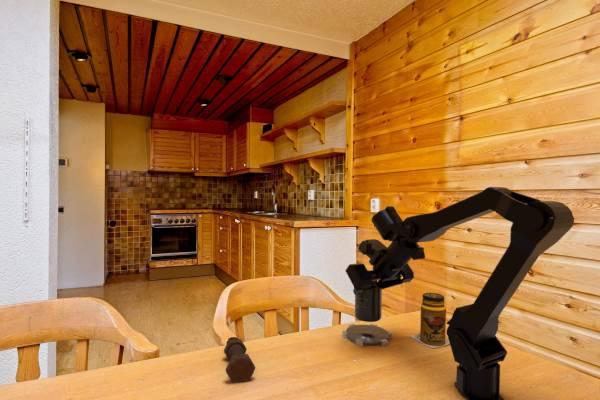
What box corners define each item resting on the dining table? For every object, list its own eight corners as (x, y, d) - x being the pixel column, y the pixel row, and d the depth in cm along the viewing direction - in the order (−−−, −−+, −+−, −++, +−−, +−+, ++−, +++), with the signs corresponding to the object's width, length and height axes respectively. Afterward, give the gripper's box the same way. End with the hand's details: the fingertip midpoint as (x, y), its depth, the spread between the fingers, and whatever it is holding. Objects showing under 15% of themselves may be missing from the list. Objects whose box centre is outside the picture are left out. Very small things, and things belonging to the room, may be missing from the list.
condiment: (433, 349, 87) (434, 300, 87) (407, 336, 95) (408, 291, 94) (453, 343, 91) (454, 296, 90) (427, 332, 98) (428, 288, 98)
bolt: (236, 358, 85) (244, 389, 70) (217, 349, 84) (222, 379, 69) (248, 335, 86) (259, 361, 71) (230, 326, 85) (237, 351, 70)
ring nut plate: (384, 328, 100) (385, 323, 100) (398, 346, 88) (398, 341, 88) (339, 328, 100) (339, 323, 100) (346, 346, 88) (346, 341, 88)
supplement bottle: (368, 312, 98) (369, 268, 98) (387, 319, 92) (387, 273, 92) (349, 316, 95) (349, 270, 95) (367, 324, 89) (367, 275, 89)
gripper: (405, 228, 95) (376, 263, 104) (350, 231, 85) (323, 269, 95) (430, 262, 88) (396, 296, 98) (373, 270, 79) (341, 307, 88)
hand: (364, 291), depth 95 cm, fingers closed on supplement bottle, 7 cm apart
